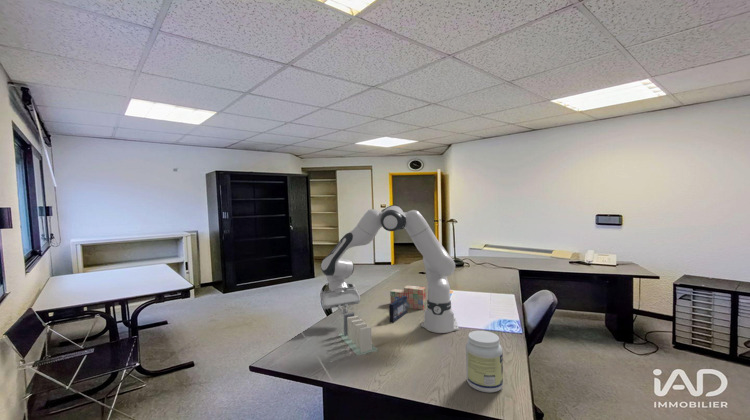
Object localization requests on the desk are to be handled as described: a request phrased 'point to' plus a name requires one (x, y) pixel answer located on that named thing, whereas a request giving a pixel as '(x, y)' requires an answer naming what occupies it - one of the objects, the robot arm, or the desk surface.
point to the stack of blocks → (411, 296)
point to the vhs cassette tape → (397, 309)
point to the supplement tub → (484, 361)
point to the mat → (353, 346)
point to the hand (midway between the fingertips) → (344, 313)
